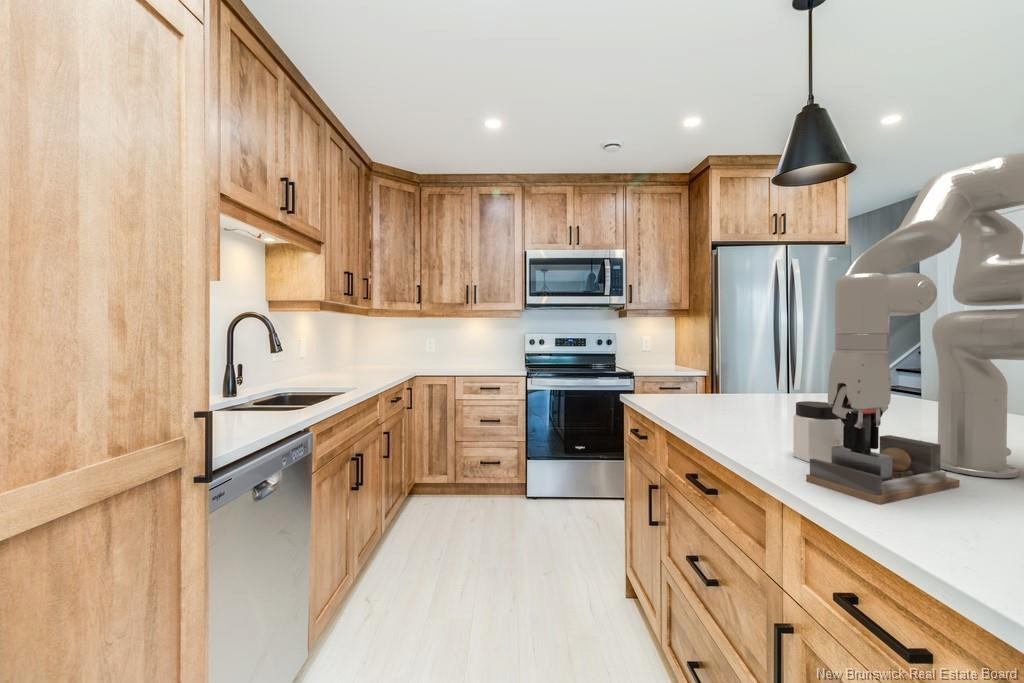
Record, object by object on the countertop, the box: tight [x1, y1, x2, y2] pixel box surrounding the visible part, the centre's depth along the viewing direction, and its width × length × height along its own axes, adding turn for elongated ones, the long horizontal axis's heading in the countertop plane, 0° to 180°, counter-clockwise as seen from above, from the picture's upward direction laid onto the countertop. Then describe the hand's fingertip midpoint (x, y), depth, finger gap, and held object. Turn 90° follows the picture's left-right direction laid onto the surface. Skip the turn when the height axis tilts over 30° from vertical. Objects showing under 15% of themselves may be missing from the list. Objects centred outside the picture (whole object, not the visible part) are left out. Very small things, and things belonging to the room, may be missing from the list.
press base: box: [805, 434, 961, 505], centre depth 80 cm, size 22×12×7 cm, turn 110°
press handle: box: [831, 405, 892, 482], centre depth 78 cm, size 4×8×13 cm, turn 20°
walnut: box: [881, 447, 911, 472], centre depth 81 cm, size 4×4×4 cm
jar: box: [792, 400, 843, 463], centre depth 95 cm, size 9×8×12 cm
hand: (860, 447), depth 78 cm, fingers closed on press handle, 2 cm apart
